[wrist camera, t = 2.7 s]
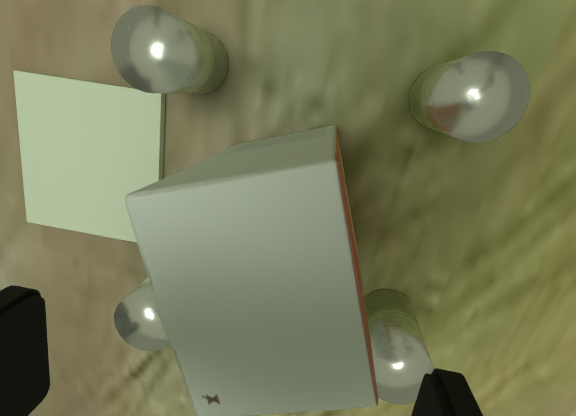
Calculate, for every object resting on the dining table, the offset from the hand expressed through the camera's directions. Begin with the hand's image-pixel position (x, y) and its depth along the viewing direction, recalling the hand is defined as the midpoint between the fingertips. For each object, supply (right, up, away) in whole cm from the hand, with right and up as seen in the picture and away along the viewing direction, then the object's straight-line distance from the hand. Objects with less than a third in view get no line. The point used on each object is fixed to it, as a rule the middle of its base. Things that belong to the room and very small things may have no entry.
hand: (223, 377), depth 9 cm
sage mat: (-11, +7, +15) cm, 20 cm away
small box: (+2, +5, +14) cm, 15 cm away
